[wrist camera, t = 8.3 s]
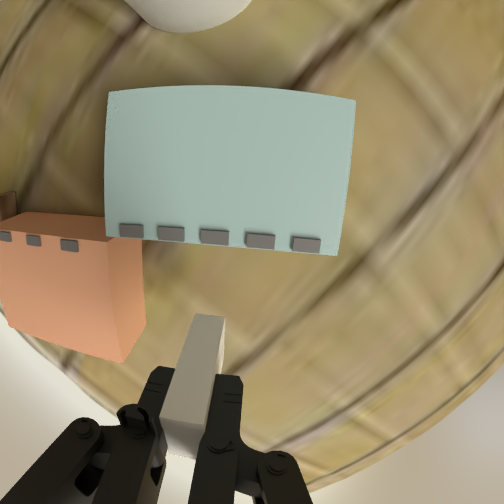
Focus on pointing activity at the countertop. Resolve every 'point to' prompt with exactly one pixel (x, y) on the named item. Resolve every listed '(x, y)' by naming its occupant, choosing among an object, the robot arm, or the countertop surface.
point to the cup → (187, 13)
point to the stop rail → (7, 206)
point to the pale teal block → (228, 166)
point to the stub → (72, 283)
